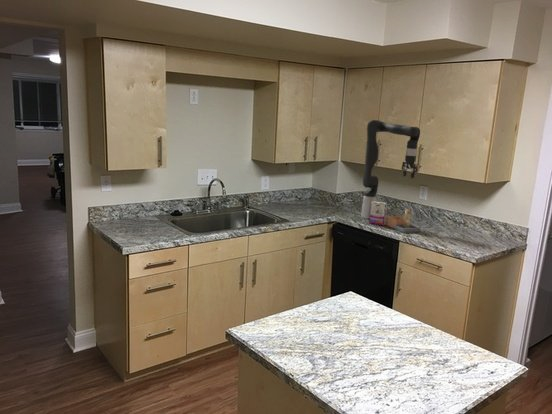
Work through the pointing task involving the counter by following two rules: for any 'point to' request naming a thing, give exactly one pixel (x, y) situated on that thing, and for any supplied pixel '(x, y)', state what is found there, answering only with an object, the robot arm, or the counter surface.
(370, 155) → the robot arm
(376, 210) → the candy bar box
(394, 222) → the terracotta square open box
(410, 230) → the slate tray
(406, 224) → the wooden dowel
